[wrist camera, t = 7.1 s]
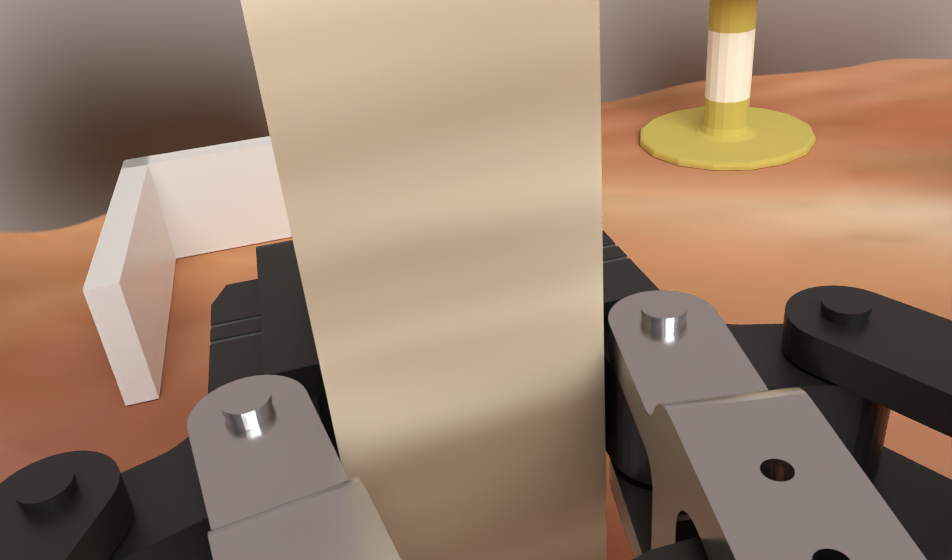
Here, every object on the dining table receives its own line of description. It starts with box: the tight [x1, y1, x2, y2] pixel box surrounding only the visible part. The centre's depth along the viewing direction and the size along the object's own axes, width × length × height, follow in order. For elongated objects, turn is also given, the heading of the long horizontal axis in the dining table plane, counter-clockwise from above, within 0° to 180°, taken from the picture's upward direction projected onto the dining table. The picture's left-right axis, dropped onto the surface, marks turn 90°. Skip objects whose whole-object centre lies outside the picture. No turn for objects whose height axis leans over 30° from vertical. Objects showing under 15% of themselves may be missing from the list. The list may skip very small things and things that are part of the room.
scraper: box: [241, 0, 607, 560], centre depth 11 cm, size 3×12×18 cm, turn 105°
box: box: [83, 136, 292, 406], centre depth 37 cm, size 13×18×5 cm
